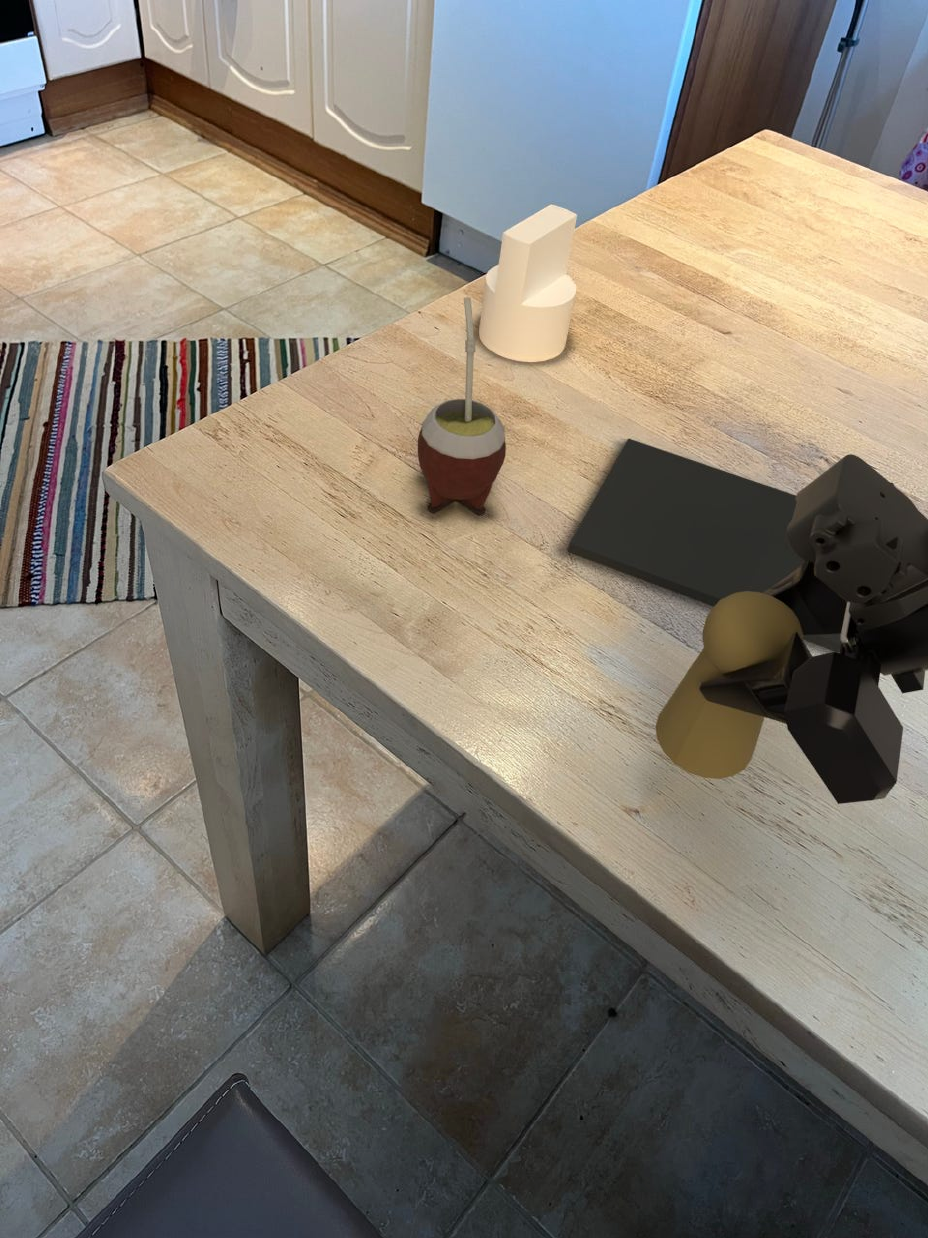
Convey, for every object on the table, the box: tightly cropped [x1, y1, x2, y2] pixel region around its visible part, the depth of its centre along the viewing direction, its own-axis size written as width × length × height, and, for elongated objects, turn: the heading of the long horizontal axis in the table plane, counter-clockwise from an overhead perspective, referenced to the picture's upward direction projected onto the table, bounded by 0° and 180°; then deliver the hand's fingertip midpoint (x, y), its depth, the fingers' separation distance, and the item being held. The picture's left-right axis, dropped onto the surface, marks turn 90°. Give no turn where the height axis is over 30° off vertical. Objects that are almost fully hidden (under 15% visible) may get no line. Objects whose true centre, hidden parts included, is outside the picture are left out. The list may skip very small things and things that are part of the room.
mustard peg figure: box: [655, 591, 804, 780], centre depth 54 cm, size 6×6×11 cm
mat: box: [567, 438, 841, 653], centre depth 79 cm, size 22×16×1 cm
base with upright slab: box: [478, 204, 578, 363], centre depth 93 cm, size 9×9×12 cm
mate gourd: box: [417, 296, 507, 517], centre depth 74 cm, size 8×8×15 cm
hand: (713, 659), depth 53 cm, fingers closed on mustard peg figure, 5 cm apart
